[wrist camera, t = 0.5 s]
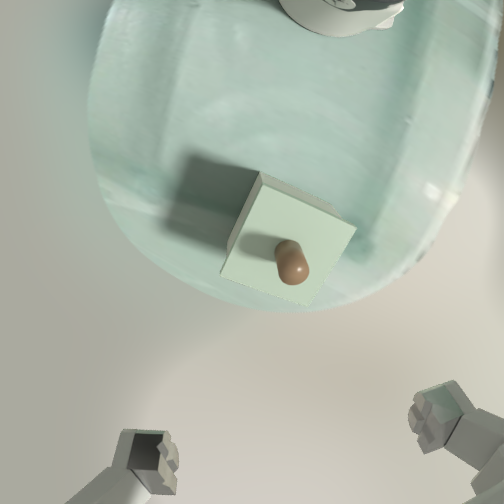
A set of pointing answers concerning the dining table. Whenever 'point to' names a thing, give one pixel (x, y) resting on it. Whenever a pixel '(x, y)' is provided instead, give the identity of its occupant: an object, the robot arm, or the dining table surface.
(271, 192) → the lid
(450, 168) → the dining table surface
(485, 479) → the robot arm
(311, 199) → the tub
